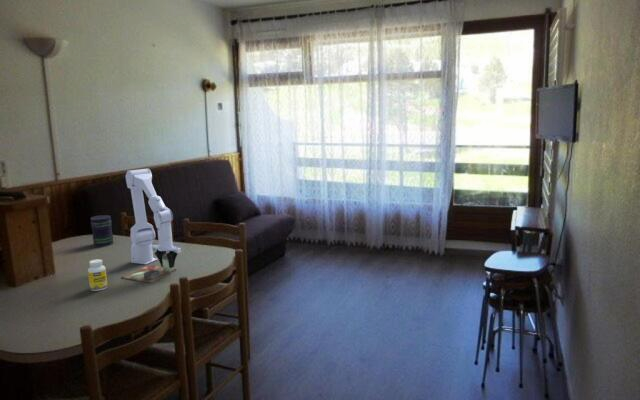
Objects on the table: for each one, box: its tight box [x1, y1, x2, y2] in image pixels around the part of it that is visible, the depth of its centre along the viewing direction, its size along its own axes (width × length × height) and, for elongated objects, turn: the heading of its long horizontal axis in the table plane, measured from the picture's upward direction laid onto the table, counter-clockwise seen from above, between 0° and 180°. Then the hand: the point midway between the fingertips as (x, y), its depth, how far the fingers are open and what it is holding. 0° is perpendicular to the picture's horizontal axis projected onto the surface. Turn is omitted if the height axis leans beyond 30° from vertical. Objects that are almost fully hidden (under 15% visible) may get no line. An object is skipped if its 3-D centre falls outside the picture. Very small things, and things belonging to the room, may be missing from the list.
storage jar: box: [90, 214, 114, 248], centre depth 249 cm, size 10×10×15 cm
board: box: [120, 264, 177, 283], centre depth 204 cm, size 16×16×3 cm
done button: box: [146, 264, 156, 271], centre depth 198 cm, size 3×3×2 cm
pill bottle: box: [87, 258, 108, 292], centre depth 188 cm, size 6×6×12 cm
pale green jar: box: [162, 253, 174, 272], centre depth 206 cm, size 4×4×7 cm
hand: (167, 266), depth 207 cm, fingers closed on pale green jar, 4 cm apart
